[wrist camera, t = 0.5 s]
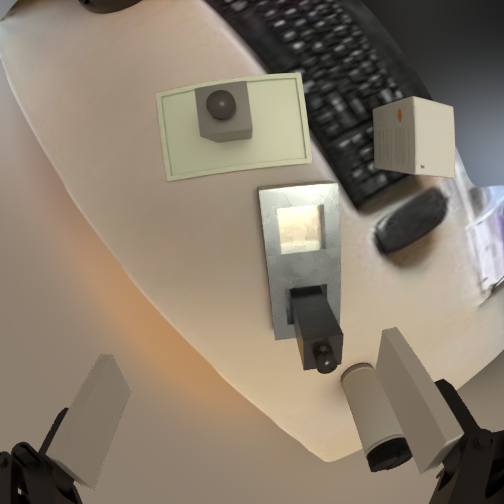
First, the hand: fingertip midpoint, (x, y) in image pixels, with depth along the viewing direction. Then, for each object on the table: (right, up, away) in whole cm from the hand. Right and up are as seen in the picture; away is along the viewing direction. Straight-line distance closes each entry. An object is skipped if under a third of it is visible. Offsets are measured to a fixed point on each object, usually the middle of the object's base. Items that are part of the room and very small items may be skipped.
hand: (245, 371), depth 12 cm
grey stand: (+7, +4, +25) cm, 26 cm away
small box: (+18, +20, +19) cm, 33 cm away
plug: (-2, +20, +18) cm, 27 cm away
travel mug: (+19, -16, +32) cm, 40 cm away
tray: (-2, +21, +19) cm, 28 cm away
